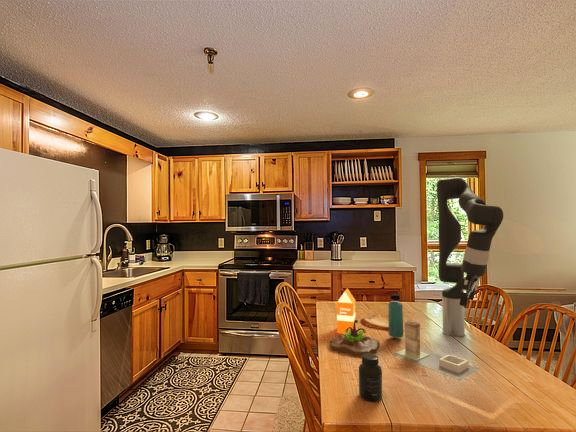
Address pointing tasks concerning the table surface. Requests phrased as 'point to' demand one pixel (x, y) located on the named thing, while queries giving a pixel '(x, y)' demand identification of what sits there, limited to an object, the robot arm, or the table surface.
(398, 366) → the table surface
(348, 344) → the plant
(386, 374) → the table surface
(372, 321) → the slice of bread
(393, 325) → the beverage bottle
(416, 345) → the wooden block tower
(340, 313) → the orange juice
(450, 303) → the robot arm
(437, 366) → the board
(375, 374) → the supplement bottle
